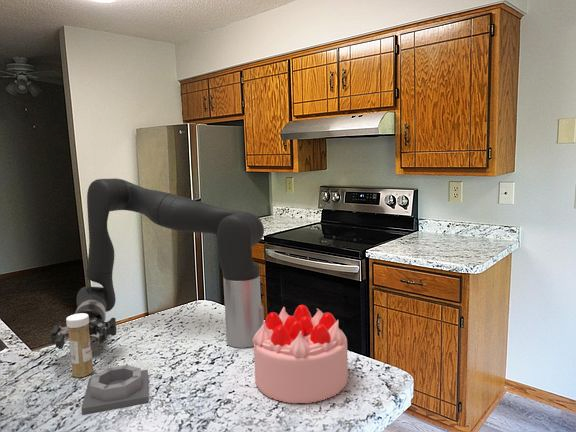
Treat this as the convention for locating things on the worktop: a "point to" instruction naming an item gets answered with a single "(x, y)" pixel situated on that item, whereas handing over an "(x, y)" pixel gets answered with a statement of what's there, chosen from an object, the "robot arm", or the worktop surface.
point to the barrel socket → (116, 389)
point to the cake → (300, 356)
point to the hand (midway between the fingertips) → (80, 342)
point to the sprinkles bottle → (80, 344)
